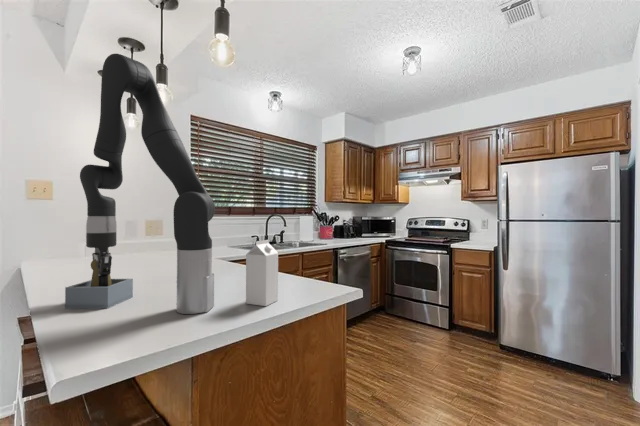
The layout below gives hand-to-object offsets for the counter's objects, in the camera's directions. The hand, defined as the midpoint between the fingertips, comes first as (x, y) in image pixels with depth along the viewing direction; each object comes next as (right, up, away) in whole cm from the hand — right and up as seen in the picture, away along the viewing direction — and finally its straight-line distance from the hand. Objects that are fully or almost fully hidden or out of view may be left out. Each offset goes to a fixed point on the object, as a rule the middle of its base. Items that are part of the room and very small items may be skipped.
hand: (101, 287), depth 94 cm
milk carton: (+49, -5, +1) cm, 49 cm away
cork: (0, -2, 0) cm, 2 cm away
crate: (0, -5, 0) cm, 5 cm away
